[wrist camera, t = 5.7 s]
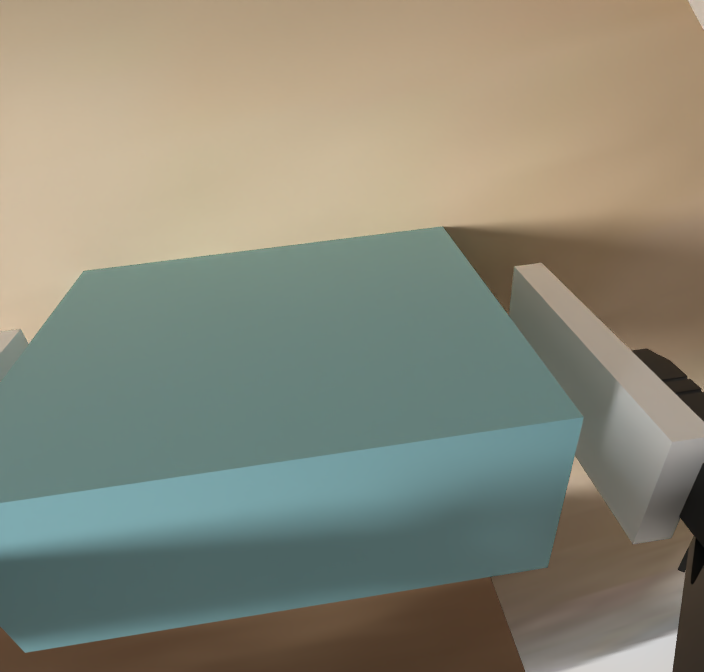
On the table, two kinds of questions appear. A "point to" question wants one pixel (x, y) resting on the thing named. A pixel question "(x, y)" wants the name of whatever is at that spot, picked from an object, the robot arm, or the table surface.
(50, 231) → the table surface
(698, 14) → the milk
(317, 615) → the walnut shelf
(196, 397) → the teal book
